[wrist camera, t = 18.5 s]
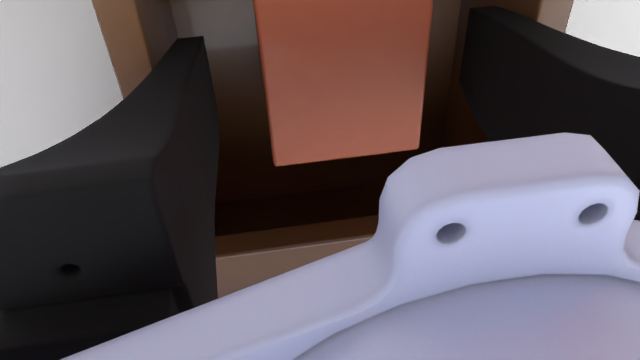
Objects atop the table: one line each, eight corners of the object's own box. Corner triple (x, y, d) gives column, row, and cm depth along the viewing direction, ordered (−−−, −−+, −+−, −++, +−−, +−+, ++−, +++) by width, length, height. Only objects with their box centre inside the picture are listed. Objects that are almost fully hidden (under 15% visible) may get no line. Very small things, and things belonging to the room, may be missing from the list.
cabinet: (140, 104, 20) (111, 271, 14) (485, 65, 21) (587, 207, 15) (210, 336, 29) (210, 491, 24) (443, 302, 30) (496, 443, 25)
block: (262, 78, 18) (274, 168, 14) (243, -77, 14) (252, -7, 11) (381, 65, 18) (420, 150, 15) (387, -89, 15) (437, -26, 12)
